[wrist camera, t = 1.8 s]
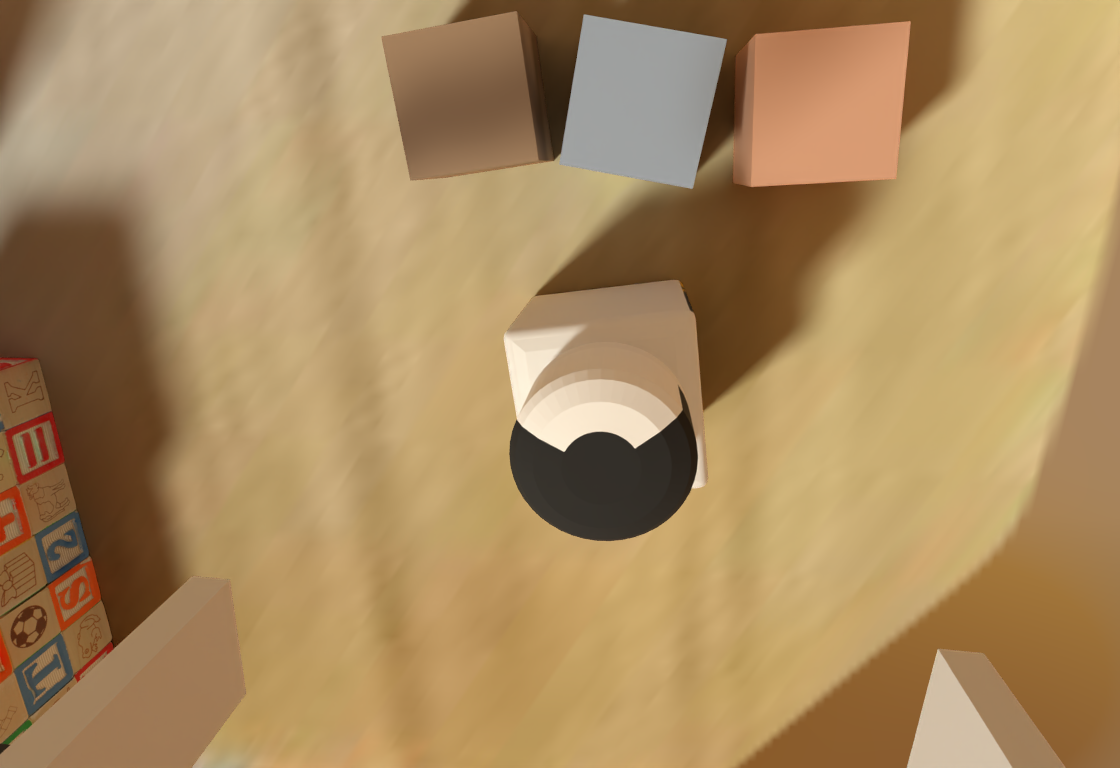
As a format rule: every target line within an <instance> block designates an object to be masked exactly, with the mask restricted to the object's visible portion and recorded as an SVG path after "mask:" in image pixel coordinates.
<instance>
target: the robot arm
mask: <svg viewBox="0 0 1120 768" xmlns="http://www.w3.org/2000/svg"><path fill="white" fill-rule="evenodd" d="M245 694H246V689H245V682H244V675H243V668H242V661H241V654H240V647H239V640H238V633H237V626H236V619H235V612H234V605H233V598H232V591H231V584H230V579H219V578H209V577H199V576H192V577H191V578H190V579H189V580H188V581H186V582H185V583H184V584H183V585H182V586H181V587H180V588H179V589H178V590H177V591H176V592H175V593H174V594H172V595H171V596H170V597H169V598H168V599H167V600H166V601H165V602H164V603H163V604H162V605H161V606H160V607H158V608H157V609H156V610H155V611H154V612H153V613H152V614H151V615H150V616H149V617H148V618H147V619H146V620H144V621H143V622H142V623H141V624H140V625H139V626H138V627H137V628H136V629H135V630H134V631H133V632H132V633H130V634H129V635H128V636H127V637H126V638H125V639H124V640H123V641H122V642H121V643H120V644H119V645H118V646H116V647H115V648H114V649H113V650H112V651H111V652H110V653H109V654H108V655H107V656H106V657H105V658H104V659H102V660H101V661H100V662H99V663H98V664H97V665H96V666H95V667H94V668H93V669H92V670H91V671H90V672H88V673H87V674H86V675H85V676H84V677H83V678H82V679H81V680H80V681H79V682H78V683H77V684H76V685H74V686H73V687H72V688H71V689H70V690H69V691H68V692H67V693H66V694H65V695H64V696H63V697H62V698H60V699H59V700H58V701H57V702H56V703H55V704H54V705H53V706H52V707H51V708H50V709H49V710H48V711H46V712H45V713H44V714H43V715H42V716H41V717H40V718H39V719H38V720H37V721H36V722H35V723H34V724H32V725H31V726H30V727H29V728H28V729H27V730H26V731H25V732H24V733H23V734H22V735H21V736H20V737H18V738H17V739H16V740H15V741H14V742H13V743H12V744H11V745H9V744H1V743H0V768H192V766H193V765H194V764H195V762H196V761H197V760H198V758H199V757H200V756H201V754H202V753H203V752H204V750H205V749H206V747H207V746H208V745H209V743H210V742H211V741H212V739H213V738H214V737H215V735H216V734H217V732H218V731H219V730H220V728H221V727H222V726H223V724H224V723H225V722H226V720H227V719H228V718H229V716H230V715H231V713H232V712H233V711H234V709H235V708H236V707H237V705H238V704H239V703H240V701H241V700H242V699H243V697H244V696H245ZM907 768H1065V766H1064V765H1063V763H1062V762H1061V761H1060V759H1059V758H1058V757H1057V755H1056V754H1055V752H1054V751H1053V750H1052V748H1051V747H1050V745H1049V744H1048V742H1047V741H1046V740H1045V738H1044V737H1043V735H1042V734H1041V733H1040V731H1039V730H1038V729H1037V727H1036V726H1035V724H1034V723H1033V721H1032V720H1031V719H1030V717H1029V716H1028V714H1027V713H1026V712H1025V710H1024V709H1023V707H1022V706H1021V705H1020V703H1019V702H1018V700H1017V699H1016V698H1015V696H1014V695H1013V693H1012V692H1011V691H1010V689H1009V688H1008V687H1007V685H1006V684H1005V682H1004V681H1003V679H1002V678H1001V677H1000V675H999V674H998V673H997V671H996V670H995V668H994V667H993V666H992V664H991V663H990V661H989V660H988V658H987V657H986V656H985V654H984V653H975V652H966V651H956V650H945V649H938V651H937V655H936V659H935V662H934V666H933V670H932V674H931V678H930V681H929V685H928V689H927V693H926V697H925V701H924V705H923V709H922V712H921V716H920V720H919V724H918V727H917V732H916V735H915V739H914V743H913V747H912V751H911V755H910V758H909V762H908V766H907Z"/></svg>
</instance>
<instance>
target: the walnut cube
mask: <svg viewBox="0 0 1120 768" xmlns="http://www.w3.org/2000/svg"><path fill="white" fill-rule="evenodd" d="M382 42H383V47H384V52H385V57H386V62H387V67H388V72H389V77H390V82H391V87H392V91H393V96H394V101H395V106H396V111H397V116H398V121H399V126H400V131H401V136H402V141H403V145H404V150H405V155H406V160H407V165H408V170H409V175H410V180H423V179H436V178H447V177H453V176H460V175H466V174H472V173H479V172H485V171H492V170H498V169H505V168H511V167H517V166H524V165H530V164H537V163H543V162H550V161H554V158H553V151H552V144H551V137H550V130H549V123H548V116H547V108H546V101H545V94H544V87H543V80H542V73H541V66H540V59H539V52H538V44H537V37H536V35H535V34H534V33H533V31H532V30H531V29H530V27H529V26H528V25H527V24H526V22H525V21H524V20H523V18H522V17H521V16H520V14H519V13H518V12H517V11H514V12H509V13H503V14H498V15H493V16H488V17H482V18H477V19H472V20H467V21H461V22H456V23H451V24H446V25H440V26H435V27H430V28H424V29H419V30H414V31H409V32H403V33H398V34H393V35H388V36H382Z"/></svg>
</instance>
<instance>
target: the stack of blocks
mask: <svg viewBox="0 0 1120 768" xmlns="http://www.w3.org/2000/svg"><path fill="white" fill-rule="evenodd" d="M64 462H65V459H64V455H63V451H62V447H61V443H60V440H59V436H58V432H57V428H56V424H55V421H54V417H53V413H52V411H51V404H50V400H49V396H48V393H47V389H46V385H45V381H44V378H43V374H42V370H41V366H40V363H39V360H38V359H36V358H0V743H1V744H9V745H11V744H12V743H13V742H14V741H15V740H16V739H17V738H18V737H20V736H21V735H22V734H23V733H24V732H25V731H26V730H27V729H28V728H29V727H30V726H31V725H32V724H34V723H35V722H36V721H37V720H38V719H39V718H40V717H41V716H42V715H43V714H44V713H45V712H46V711H48V710H49V709H50V708H51V707H52V706H53V705H54V704H55V703H56V702H57V701H58V700H59V699H60V698H62V697H63V696H64V695H65V694H66V693H67V692H68V691H69V690H70V689H71V688H72V687H73V686H74V685H76V684H77V683H78V682H79V681H80V680H81V679H82V678H83V677H84V676H85V675H86V674H87V673H88V672H90V671H91V670H92V669H93V668H94V667H95V666H96V665H97V664H98V663H99V662H100V661H101V660H102V659H104V658H105V657H106V656H107V655H108V654H109V653H110V652H111V651H112V650H113V649H114V648H113V644H112V642H111V640H112V635H111V631H110V627H109V623H108V619H107V615H106V612H105V608H104V605H103V602H102V601H101V594H100V589H99V585H98V582H97V578H96V574H95V570H94V566H93V562H92V558H91V557H90V556H89V551H88V547H87V543H86V540H85V536H84V532H83V529H82V525H81V521H80V517H79V513H78V512H77V510H76V504H75V500H74V496H73V493H72V489H71V485H70V482H69V478H68V474H67V470H66V467H65V464H64Z"/></svg>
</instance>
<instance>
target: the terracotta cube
mask: <svg viewBox="0 0 1120 768" xmlns="http://www.w3.org/2000/svg"><path fill="white" fill-rule="evenodd" d="M910 25H911V21H906V22H894V23H882V24H870V25H858V26H847V27H835V28H823V29H811V30H799V31H787V32H775V33H763V34H755V35H754V36H753V38H752V39H751V40H750V41H749V42H748V43H747V44H746V45H745V46H744V47H743V48H742V49H741V51H740V52H739V53H738V54H737V55H736V59H735V106H734V153H733V183H735V184H740V185H745V186H749V187H758V186H776V185H794V184H812V183H830V182H848V181H865V180H883V179H896V174H897V164H898V153H899V142H900V132H901V121H902V110H903V100H904V89H905V78H906V68H907V57H908V46H909V36H910Z"/></svg>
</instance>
